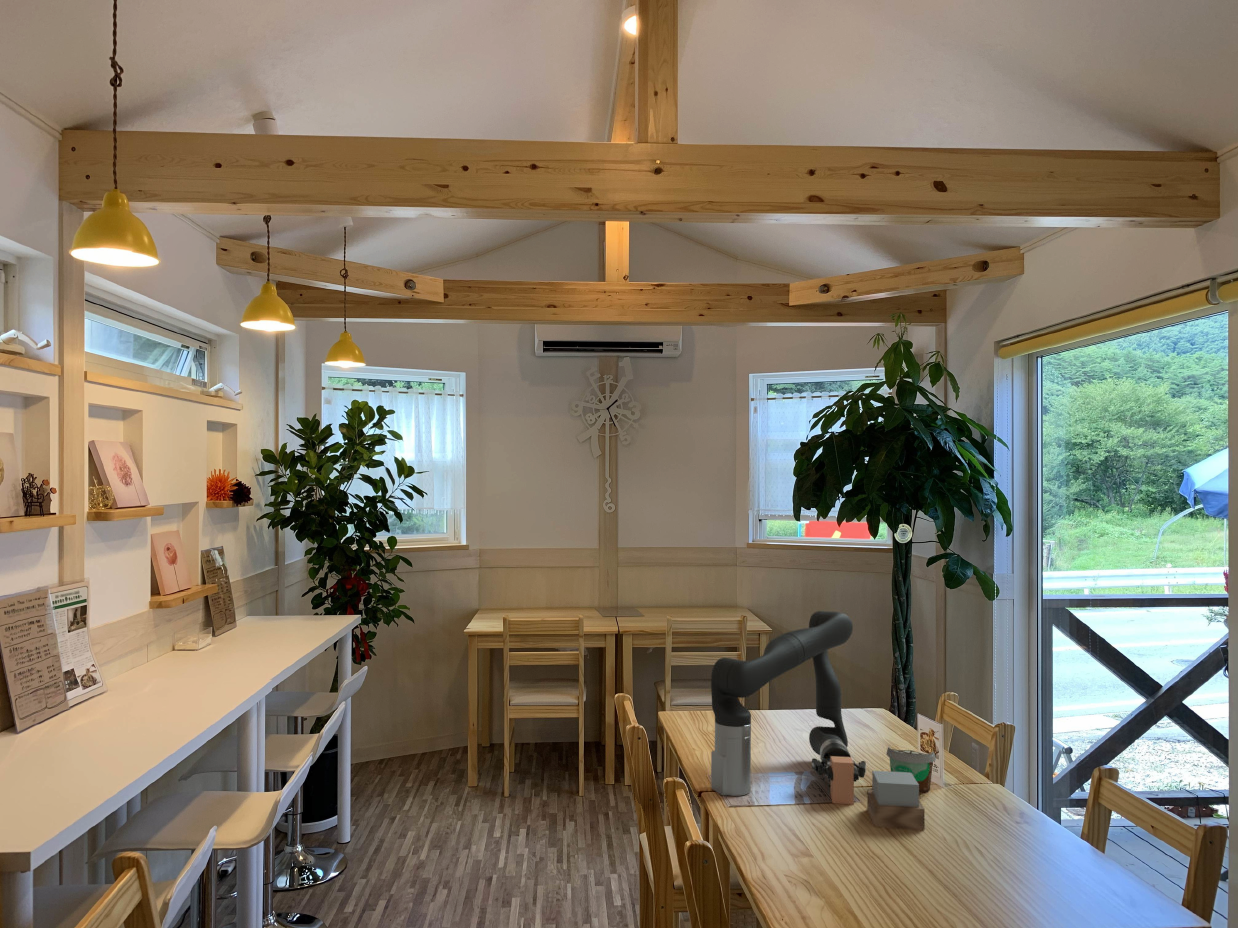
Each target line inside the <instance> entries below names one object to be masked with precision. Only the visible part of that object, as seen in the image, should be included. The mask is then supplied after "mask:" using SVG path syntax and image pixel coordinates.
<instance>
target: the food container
mask: <svg viewBox="0 0 1238 928" xmlns="http://www.w3.org/2000/svg"><path fill="white" fill-rule="evenodd" d="M886 749H887V750H886V756H887V757H888V758H889V767H890V772H909V773H912V775H913V776H914V778H915V780H916V781H917V783H918V784H919V794H925V793H929V792H930V790H931V785H932V775H933V765H934V762H935V761H936V754H935V751H932V752H930V753H921V752H918V751H915V750H910V749H908V750H907V749H905V750H902V749H901V750H899V749H893V748H890V746H888V747H887V748H886Z"/></svg>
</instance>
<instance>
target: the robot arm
mask: <svg viewBox="0 0 1238 928" xmlns="http://www.w3.org/2000/svg"><path fill="white" fill-rule="evenodd" d="M853 625H854V624H853V621H852V618H850V616H848V615H847V614H845V613H842V612H839V611H828V610H817V611H815V612H813V613H812V614H811V616H810V618H809V622H808V627H807V628H801V629H796V630H791V631H787V632H785V633H782V634H781V635H779V636H776V637H774V638H772V639H771V640H770V641H769V642H768V643H767V644H766V645H765V647H764V650H763V654H762V655H761V656H758V657H757V658H753V659H751V660H740V659H736V658H732V657H721V658H718V659H717V661H715V663H714V664H713V667H712V670H711V675H710V689H711V690H710V691H711V693H710V694H711V707H712V713H713V714H714V750H712V751H711V753H710V754H711V755H710V758H711V760H710V763H711V764H710V767H711V769H710V782H711V783H710V787H711V790H713V791H715V792H716V793H718V794H719V795H721V796H732V797H733V796H735V797H736V796H745V795H746V796H747V794H750V792H751V786H752V784H751V783H752V781H751V780H752V779H751V777H752V774H751V773H752V771H751V769H752V768H751V767H752V765H751V761H752V760H751V759H752V758H751V757H752V755H751V751H752V750H751V749H752V714H751V711H750V710H749V709H747V707H745V706H744V705H743V704H742V702H741V701H740V700H739V698H743V699H744V698H749V697H750V696H752V695H754V694H755V693H756V692H757V691H759V690H761V689H762V688H763V687H765V686H766V684H769V683H770V682H771V681H772V680H775V679H776V678H778V677H780V676H781V675H783V674H785V673H786V672H788V671H791V670H793V669H795V668H797V667H799V666H800V665H802V664H803V663H805V662H807V661H808V660H810V659H812V663H813V669H814V677H815V713H816V716H817V717H819V718H821V719H824V720H829V721H831V722H833V724H834V726H822V725H821V726H820V725H819V726H815V727H812V729H811V730H810V732H809V736H808V742H809V745H810V747H811V749H812V751H813V752H814V753H816V754H817V755H818V756H820V760H819V759H817V758H814V757H813V758H811V769H812V771H814V772H815V773H816V774H817V775H818V776H823V775H825V777H826V779H829V781H831V780H832V781H833V771H832V768H831V756H837V757H851V758H852V756H851V754H850V752H849V749H848V746H849V741H848V735H847V733H846V730H845V725H844V722H843V714H842V689H841V684H840V681H839V679H838V677H837V674H836V672H835V670H834V668H833V666H832V663H831V661H830V657H829V654H828V653H829V652H828V651H829V650H830V649H833V648H836V647H838V646H841V645H843V644H845V643H847V642H848V641H849V639H850V638H851V636H852V634H853V631H854V630H853V629H854V626H853ZM853 763H854V783H857V781H859V779H860V778H861V779H862V778H865V774H866V772H867V771H866V770H867V769H866V766H867V762H866V761H865V760H861V761H860V762H859V761H858V763H856V761H855V760H853Z"/></svg>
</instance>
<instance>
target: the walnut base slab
mask: <svg viewBox="0 0 1238 928" xmlns="http://www.w3.org/2000/svg"><path fill="white" fill-rule="evenodd" d="M866 796H867V799H866V800H867V802H866V805H867V807H866V810H867V813H868V815H869V818H870V819H871V821H872V823H873V826H874V827H875V828H885V829H887V828H888V829H903V830H918V831H920V830H921V831H924V830H925V827H926V825H925V820H926V819H925V816H926V815H925V814H926V813H925V811H926V810H925V809H926V808H924V806H923V804H922V803H921V801H920V800H919V807H908V806H891V805H878V803H877V801H876V798H875V796H874V794H873V792H872V790H869V789H868V790H867V795H866Z"/></svg>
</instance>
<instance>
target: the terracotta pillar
mask: <svg viewBox="0 0 1238 928" xmlns="http://www.w3.org/2000/svg"><path fill="white" fill-rule="evenodd" d="M853 761H854V760H853V758H852V756H851V757H837V756H831V768H832V771H833V781H832V780H830V798H831V802H832V804H835V805H837V804H838V805H840V804H841V805H854V804H855V790H854V789H855V782H854V763H853Z"/></svg>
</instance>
